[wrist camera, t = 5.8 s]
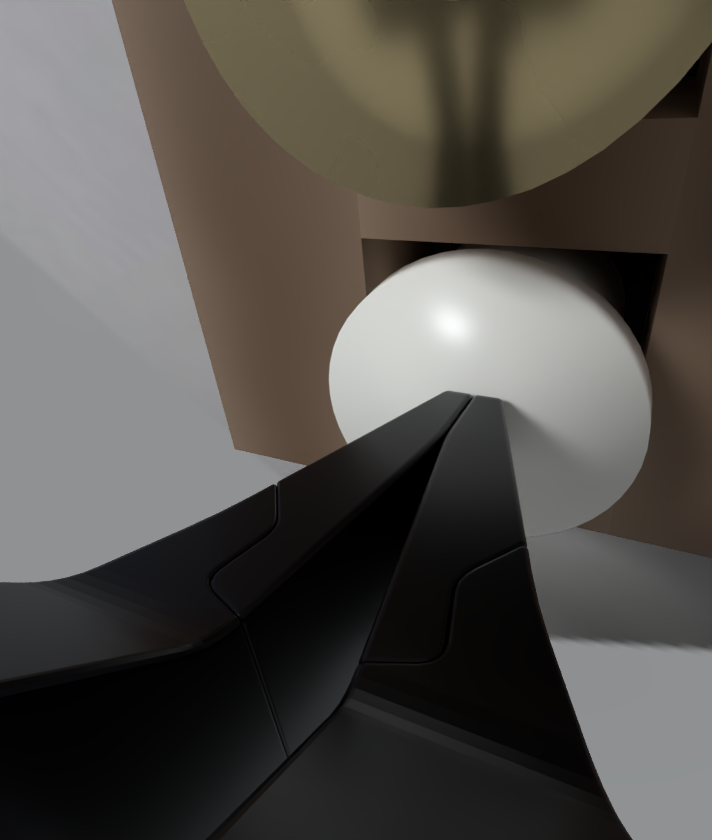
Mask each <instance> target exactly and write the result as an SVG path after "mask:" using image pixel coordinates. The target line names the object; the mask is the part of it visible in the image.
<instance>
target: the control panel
mask: <svg viewBox="0 0 712 840" xmlns="http://www.w3.org/2000/svg"><path fill="white" fill-rule="evenodd" d="M112 3H113V7H114V10H115V14H116V17H117V21H118V25H119V28H120V32H121V36H122V39H123V43H124V47H125V50H126V54H127V58H128V61H129V65H130V69H131V72H132V76H133V79H134V83H135V87H136V90H137V94H138V98H139V101H140V105H141V109H142V112H143V116H144V120H145V123H146V127H147V130H148V134H149V138H150V141H151V145H152V149H153V152H154V156H155V160H156V163H157V167H158V171H159V174H160V178H161V181H162V185H163V189H164V192H165V196H166V200H167V203H168V207H169V211H170V214H171V218H172V222H173V225H174V229H175V233H176V236H177V240H178V243H179V247H180V251H181V254H182V258H183V262H184V265H185V269H186V273H187V276H188V280H189V284H190V287H191V291H192V294H193V298H194V302H195V305H196V309H197V313H198V316H199V320H200V324H201V327H202V331H203V335H204V338H205V342H206V345H207V349H208V353H209V356H210V360H211V364H212V367H213V371H214V375H215V378H216V382H217V386H218V389H219V393H220V397H221V400H222V404H223V407H224V411H225V415H226V418H227V422H228V426H229V429H230V433H231V437H232V440H233V444H234V448H235V449H237V450H242V451H246V452H250V453H255V454H259V455H263V456H268V457H272V458H277V459H281V460H285V461H290V462H294V463H299V464H303V465H307V466H308V465H310V464H312V463H314V462H315V461H317V460H319V459H321V458H323V457H325V456H326V455H328V454H330V453H332V452H334V451H336V450H337V449H339V448H341V447H343V446H345V445H347V442H346V440H345V438H344V436H343V434H342V432H341V430H340V428H339V426H338V423H337V420H336V417H335V414H334V411H333V407H332V402H331V397H330V388H329V368H330V360H331V356H332V351H333V347H334V344H335V342H336V339H337V337H338V334H339V332H340V330H341V328H342V327H343V325H344V323H345V322H346V320H347V318H348V317H349V316H350V314H351V313H352V312H353V311H354V310H355V308H356V307H357V306H358V305H359V304H360V303H361V302H362V301H363V300H364V299H365V298H366V297H367V296H368V295H369V294H370V293H371V292H372V291H373V290H374V289H375V288H376V287H377V286H378V285H379V284H380V283H381V282H383V281H384V280H385V279H386V278H387V277H388V276H390V275H391V274H393V273H394V272H396V271H397V270H399V269H401V268H402V267H404V266H406V265H408V264H410V263H412V262H415V261H417V260H419V259H421V258H424V257H428V256H431V255H433V242H444V243H464V244H483V245H502V246H521V247H540V248H559V249H578V250H598V251H617V252H636V253H655V254H659V259H658V264H657V269H656V274H655V278H654V283H653V288H652V293H651V298H650V302H649V307H648V312H647V317H646V322H645V327H644V331H643V336H642V341H641V346H640V347H641V350H642V352H643V355H644V357H645V360H646V363H647V365H648V369H649V374H650V379H651V384H652V416H651V427H650V435H649V442H648V449H647V452H646V455H645V458H644V461H643V464H642V467H641V469H640V471H639V472H638V474H637V476H636V478H635V480H634V481H633V483H632V484H631V486H630V487H629V488H628V489H627V491H626V492H625V493H624V494H623V496H622V497H621V498H620V499H619V500H617V501H616V502H615V503H614V504H613V505H612V506H611V507H610V508H609V509H607V510H606V511H604V512H603V513H601V514H600V515H598V516H597V517H595V518H594V519H592V520H590V521H587V522H585V523H583V524H581V525H579V526H577V527H579V528H583V529H587V530H592V531H596V532H601V533H605V534H609V535H614V536H618V537H623V538H627V539H631V540H636V541H640V542H644V543H649V544H653V545H658V546H662V547H666V548H671V549H675V550H679V551H684V552H688V553H693V554H697V555H701V556H706V557H710V558H712V42H711V44H710V45H709V46H708V47H707V49H706V50H705V51H704V52H703V53H702V55H701V57H700V61H699V66H698V71H697V76H696V77H683V78H682V79H681V80H680V81H679V83H678V84H677V85H676V86H675V87H674V88H673V89H672V90H671V91H670V92H669V93H668V94H667V95H666V96H665V97H664V98H663V99H662V100H660V101H659V102H658V103H657V104H656V105H655V106H654V107H653V108H652V109H651V110H650V111H649V112H648V113H647V114H646V115H645V116H644V117H643V118H642V119H641V120H640V121H639V122H638V123H636V124H635V125H634V126H633V127H631V128H630V129H629V130H628V131H626V132H625V133H624V134H623V135H621V136H620V137H619V138H618V139H616V140H615V141H614V142H613V143H611V144H610V145H609V146H608V147H606V148H605V149H604V150H602V151H601V152H599V153H597V154H596V155H594V156H593V157H591V158H589V159H588V160H586V161H585V162H583V163H581V164H580V165H578V166H577V167H575V168H573V169H572V170H570V171H569V172H567V173H565V174H563V175H561V176H559V177H556V178H554V179H552V180H550V181H548V182H546V183H544V184H542V185H539V186H537V187H535V188H533V189H531V190H528V191H525V192H522V193H518V194H515V195H512V196H509V197H506V198H503V199H500V200H497V201H492V202H486V203H481V204H475V205H470V206H464V207H446V208H423V207H413V206H403V205H396V204H392V203H388V202H384V201H380V200H376V199H372V198H368V197H365V196H363V195H360V194H358V193H355V192H353V191H350V190H348V189H345V188H343V187H340V186H338V185H337V184H335V183H333V182H331V181H329V180H328V179H326V178H324V177H322V176H320V175H319V174H317V173H315V172H313V171H312V170H310V169H309V168H308V167H306V166H305V165H304V164H302V163H301V162H300V161H298V160H297V159H295V158H294V157H293V156H291V155H290V154H289V153H287V152H286V151H285V150H284V149H283V148H282V147H281V146H280V145H279V144H278V143H277V142H276V141H274V140H273V139H272V138H271V137H270V136H269V135H268V134H267V133H266V132H265V131H264V130H263V129H262V128H261V127H260V126H259V124H258V123H257V122H256V121H255V120H254V119H253V117H252V116H251V115H250V114H249V113H248V112H247V110H246V109H245V108H244V107H243V106H242V105H241V103H240V102H239V100H238V99H237V97H236V96H235V95H234V93H233V92H232V90H231V89H230V87H229V86H228V85H227V83H226V82H225V80H224V79H223V77H222V76H221V74H220V73H219V71H218V69H217V67H216V66H215V64H214V62H213V60H212V58H211V57H210V55H209V53H208V51H207V50H206V48H205V46H204V44H203V42H202V40H201V38H200V36H199V34H198V32H197V29H196V27H195V25H194V23H193V20H192V18H191V16H190V14H189V12H188V9H187V7H186V5H185V2H184V0H112Z"/></svg>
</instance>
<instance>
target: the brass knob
mask: <svg viewBox="0 0 712 840" xmlns="http://www.w3.org/2000/svg"><path fill="white" fill-rule="evenodd" d="M184 2H185V5H186V7H187V9H188V12H189V14H190V16H191V18H192V20H193V23H194V25H195V27H196V29H197V32H198V34H199V36H200V38H201V40H202V42H203V44H204V46H205V48H206V50H207V51H208V53H209V55H210V57H211V58H212V60H213V62H214V64H215V66H216V67H217V69H218V71H219V73H220V74H221V76H222V77H223V79H224V80H225V82H226V83H227V85H228V86H229V87H230V89H231V90H232V92H233V93H234V95H235V96H236V97H237V99H238V100H239V102H240V103H241V105H242V106H243V107H244V108H245V109H246V110H247V112H248V113H249V114H250V115H251V116H252V117H253V119H254V120H255V121H256V122H257V123H258V124H259V126H260V127H261V128H262V129H263V130H264V131H265V132H266V133H267V134H268V135H269V136H270V137H271V138H272V139H273V140H274V141H276V142H277V143H278V144H279V145H280V146H281V147H282V148H283V149H284V150H285V151H286V152H287V153H289V154H290V155H291V156H293V157H294V158H295V159H297V160H298V161H300V162H301V163H302V164H304V165H305V166H306V167H308V168H309V169H310V170H312V171H313V172H315V173H317V174H319V175H320V176H322V177H324V178H326V179H328V180H329V181H331V182H333V183H335V184H337V185H338V186H340V187H343V188H345V189H348V190H350V191H353V192H355V193H358V194H360V195H363V196H365V197H368V198H372V199H376V200H380V201H384V202H388V203H392V204H396V205H403V206H413V207H423V208H446V207H464V206H470V205H475V204H481V203H486V202H492V201H497V200H500V199H503V198H506V197H509V196H512V195H515V194H518V193H522V192H525V191H528V190H531V189H533V188H535V187H537V186H539V185H542V184H544V183H546V182H548V181H550V180H552V179H554V178H556V177H559V176H561V175H563V174H565V173H567V172H569V171H570V170H572V169H573V168H575V167H577V166H578V165H580V164H581V163H583V162H585V161H586V160H588V159H589V158H591V157H593V156H594V155H596V154H597V153H599V152H601V151H602V150H604V149H605V148H606V147H608V146H609V145H610V144H611V143H613V142H614V141H615V140H616V139H618V138H619V137H620V136H621V135H623V134H624V133H625V132H626V131H628V130H629V129H630V128H631V127H633V126H634V125H635V124H636V123H638V122H639V121H640V120H641V119H642V118H643V117H644V116H645V115H646V114H647V113H648V112H649V111H650V110H651V109H652V108H653V107H654V106H655V105H656V104H657V103H658V102H659V101H660V100H662V99H663V98H664V97H665V96H666V95H667V94H668V93H669V92H670V91H671V90H672V89H673V88H674V87H675V86H676V85H677V84H678V83H679V81H680V80H681V79H682V78H683V77H684V75H685V74H686V73H687V72H688V70H689V69H690V68H691V67H692V66H693V64H694V63H695V62H696V61H697V59H698V58H699V57H700V56H701V55H702V53H703V52H704V51H705V50H706V49H707V47H708V46H709V45H710V44H711V42H712V0H184Z"/></svg>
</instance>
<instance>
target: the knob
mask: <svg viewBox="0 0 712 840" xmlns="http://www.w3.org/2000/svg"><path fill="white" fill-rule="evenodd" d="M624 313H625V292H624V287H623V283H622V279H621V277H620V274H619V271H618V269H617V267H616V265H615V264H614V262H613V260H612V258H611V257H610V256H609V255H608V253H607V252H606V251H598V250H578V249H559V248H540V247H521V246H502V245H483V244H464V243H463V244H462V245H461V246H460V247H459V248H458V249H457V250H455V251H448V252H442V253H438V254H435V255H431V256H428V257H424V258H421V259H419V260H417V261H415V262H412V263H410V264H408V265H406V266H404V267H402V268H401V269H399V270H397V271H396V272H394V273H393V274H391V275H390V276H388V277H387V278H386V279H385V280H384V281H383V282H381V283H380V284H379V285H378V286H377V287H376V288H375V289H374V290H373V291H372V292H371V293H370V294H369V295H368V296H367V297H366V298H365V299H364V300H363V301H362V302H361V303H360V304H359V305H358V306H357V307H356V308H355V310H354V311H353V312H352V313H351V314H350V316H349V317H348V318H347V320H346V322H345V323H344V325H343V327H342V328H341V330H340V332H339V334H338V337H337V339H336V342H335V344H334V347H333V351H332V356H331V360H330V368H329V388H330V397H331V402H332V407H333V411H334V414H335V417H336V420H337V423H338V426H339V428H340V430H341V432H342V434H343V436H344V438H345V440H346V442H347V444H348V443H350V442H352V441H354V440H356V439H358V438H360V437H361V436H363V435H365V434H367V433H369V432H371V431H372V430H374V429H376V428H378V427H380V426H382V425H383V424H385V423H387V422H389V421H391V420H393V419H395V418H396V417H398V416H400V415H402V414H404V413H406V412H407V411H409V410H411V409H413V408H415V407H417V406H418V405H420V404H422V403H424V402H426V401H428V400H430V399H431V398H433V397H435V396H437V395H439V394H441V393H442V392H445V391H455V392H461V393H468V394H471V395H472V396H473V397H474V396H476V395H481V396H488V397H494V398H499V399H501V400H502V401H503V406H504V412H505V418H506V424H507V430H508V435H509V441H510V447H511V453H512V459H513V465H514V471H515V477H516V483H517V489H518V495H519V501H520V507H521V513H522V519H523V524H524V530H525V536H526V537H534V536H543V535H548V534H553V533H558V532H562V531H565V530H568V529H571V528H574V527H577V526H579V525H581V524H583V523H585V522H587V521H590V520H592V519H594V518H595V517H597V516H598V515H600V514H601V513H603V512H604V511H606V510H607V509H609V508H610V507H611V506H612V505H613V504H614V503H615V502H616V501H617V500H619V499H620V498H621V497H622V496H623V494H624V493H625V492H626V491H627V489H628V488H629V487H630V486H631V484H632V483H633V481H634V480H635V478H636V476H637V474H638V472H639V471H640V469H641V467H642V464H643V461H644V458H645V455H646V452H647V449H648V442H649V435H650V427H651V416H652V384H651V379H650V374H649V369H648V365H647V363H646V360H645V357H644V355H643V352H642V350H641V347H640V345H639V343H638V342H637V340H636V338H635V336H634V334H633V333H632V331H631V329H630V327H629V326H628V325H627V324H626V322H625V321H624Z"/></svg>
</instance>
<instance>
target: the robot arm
mask: <svg viewBox="0 0 712 840" xmlns="http://www.w3.org/2000/svg"><path fill="white" fill-rule="evenodd" d="M0 840H632V838H631V837H630V835H629V834H628V832H627V831H626V829H625V827H624V826H623V824H622V823H621V821H620V819H619V818H618V816H617V814H616V812H615V810H614V808H613V807H612V804H611V802H610V800H609V798H608V796H607V794H606V792H605V790H604V788H603V786H602V783H601V781H600V778H599V776H598V773H597V771H596V769H595V766H594V763H593V761H592V758H591V756H590V753H589V751H588V748H587V745H586V742H585V739H584V737H583V734H582V731H581V728H580V725H579V722H578V720H577V717H576V714H575V711H574V708H573V705H572V703H571V700H570V697H569V694H568V691H567V689H566V685H565V682H564V680H563V677H562V674H561V671H560V668H559V666H558V663H557V660H556V657H555V654H554V651H553V648H552V645H551V643H550V639H549V636H548V633H547V629H546V626H545V623H544V620H543V616H542V613H541V610H540V606H539V603H538V598H537V593H536V589H535V584H534V580H533V575H532V570H531V564H530V558H529V552H528V549H527V542H526V536H525V530H524V524H523V519H522V513H521V507H520V501H519V495H518V489H517V483H516V477H515V471H514V465H513V459H512V453H511V447H510V441H509V435H508V430H507V424H506V418H505V412H504V406H503V401H502V400H501V399H499V398H494V397H488V396H481V395H476V396H474V397H473V396H472V395H471V394H468V393H461V392H455V391H445V392H442V393H441V394H439V395H437V396H435V397H433V398H431V399H430V400H428V401H426V402H424V403H422V404H420V405H418V406H417V407H415V408H413V409H411V410H409V411H407V412H406V413H404V414H402V415H400V416H398V417H396V418H395V419H393V420H391V421H389V422H387V423H385V424H383V425H382V426H380V427H378V428H376V429H374V430H372V431H371V432H369V433H367V434H365V435H363V436H361V437H360V438H358V439H356V440H354V441H352V442H350V443H348V444H347V445H345V446H343V447H341V448H339V449H337V450H336V451H334V452H332V453H330V454H328V455H326V456H325V457H323V458H321V459H319V460H317V461H315V462H314V463H312V464H310V465H308V466H306V467H304V468H302V469H301V470H299V471H297V472H295V473H293V474H291V475H290V476H288V477H286V478H284V479H282V480H280V481H279V482H278V483H277V486H276V485H274V484H273V485H271V486H269V487H267V488H266V489H264V490H262V491H260V492H258V493H256V494H254V495H252V496H251V497H249V498H247V499H245V500H243V501H241V502H239V503H237V504H235V505H233V506H231V507H229V508H227V509H225V510H223V511H221V512H219V513H217V514H215V515H213V516H211V517H208V518H206V519H204V520H202V521H200V522H198V523H196V524H194V525H191V526H189V527H187V528H185V529H183V530H180V531H178V532H176V533H173V534H171V535H169V536H167V537H164V538H162V539H160V540H158V541H155V542H153V543H151V544H149V545H146V546H144V547H142V548H140V549H137V550H135V551H133V552H130V553H128V554H126V555H124V556H121V557H119V558H117V559H115V560H112V561H111V562H108V563H106V564H103V565H101V566H99V567H96V568H94V569H91V570H89V571H86V572H84V573H80V574H77V575H74V576H70V577H67V578H62V579H57V580H52V581H43V582H29V583H11V582H10V583H9V582H2V583H1V582H0Z"/></svg>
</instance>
